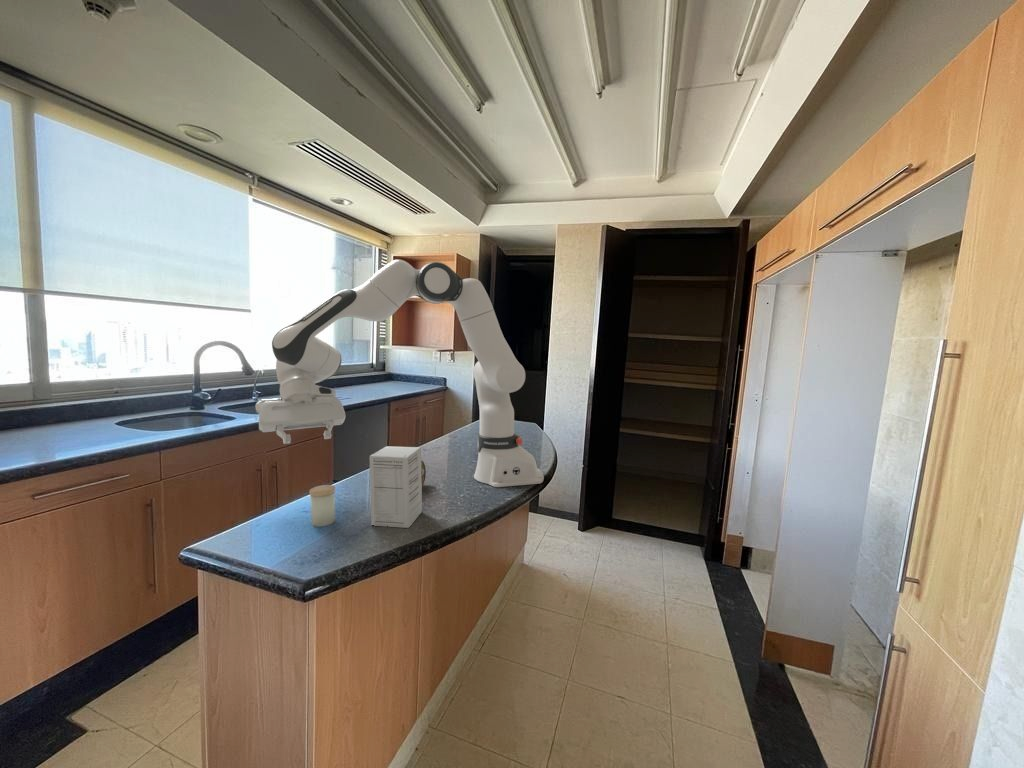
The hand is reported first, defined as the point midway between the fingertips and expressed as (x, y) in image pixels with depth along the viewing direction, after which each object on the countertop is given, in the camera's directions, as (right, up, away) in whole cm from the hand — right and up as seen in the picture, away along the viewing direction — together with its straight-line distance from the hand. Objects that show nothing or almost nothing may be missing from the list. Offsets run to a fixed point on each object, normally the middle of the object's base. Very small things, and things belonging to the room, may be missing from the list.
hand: (308, 439), depth 97 cm
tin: (+23, -17, +12) cm, 31 cm away
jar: (+8, -18, -8) cm, 21 cm away
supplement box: (+25, -19, -5) cm, 31 cm away
